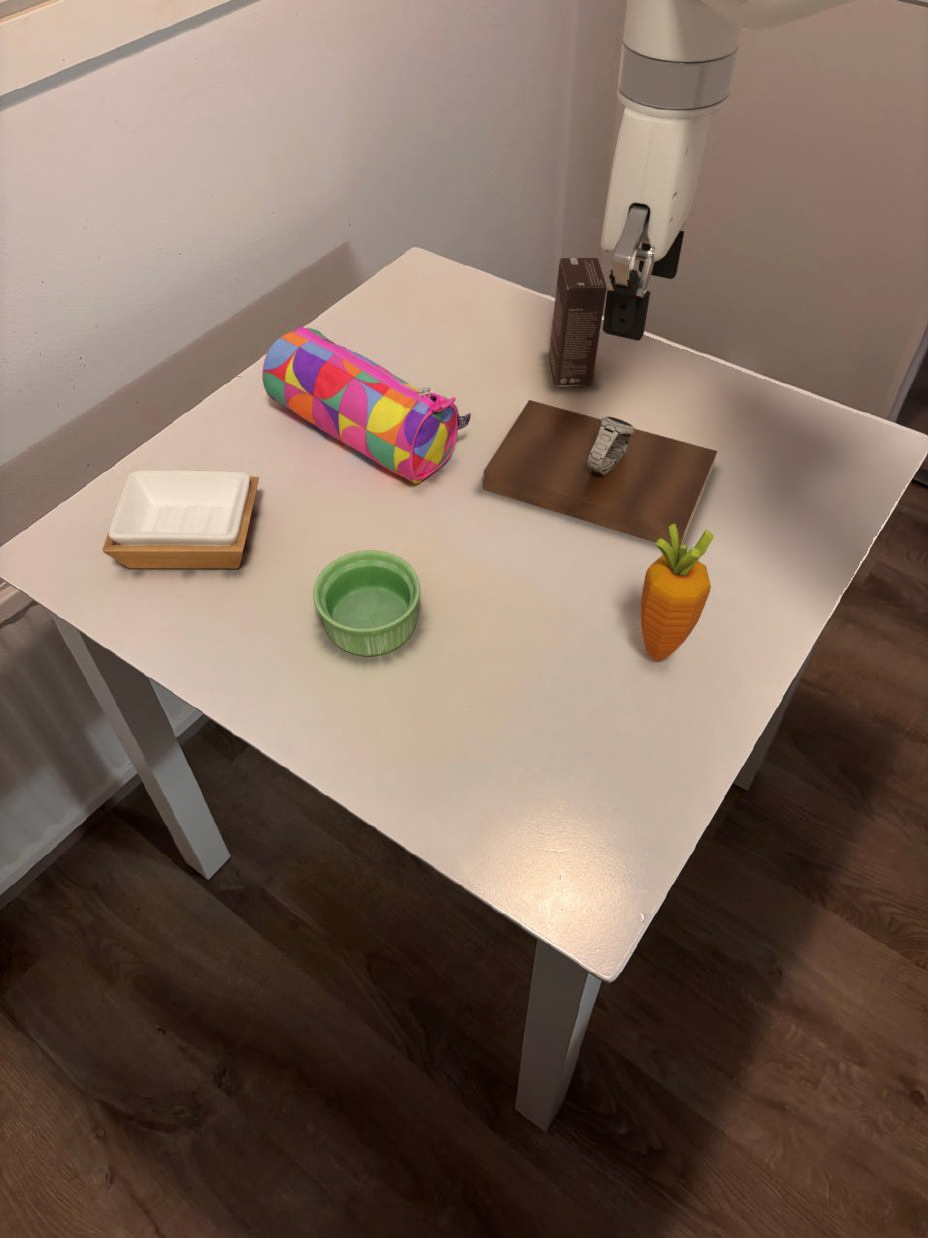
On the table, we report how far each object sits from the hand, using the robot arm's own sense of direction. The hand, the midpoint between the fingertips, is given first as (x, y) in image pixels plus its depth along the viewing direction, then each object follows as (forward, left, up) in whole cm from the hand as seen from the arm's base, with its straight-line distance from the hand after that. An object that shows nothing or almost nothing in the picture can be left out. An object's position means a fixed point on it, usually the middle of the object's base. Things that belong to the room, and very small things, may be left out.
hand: (640, 303), depth 73 cm
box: (+10, -16, -20) cm, 28 cm away
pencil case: (+26, +3, -20) cm, 33 cm away
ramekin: (+14, +25, -20) cm, 35 cm away
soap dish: (+34, +23, -20) cm, 46 cm away
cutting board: (+1, 0, -20) cm, 20 cm away
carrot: (-10, +19, -20) cm, 29 cm away
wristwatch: (+1, 0, -18) cm, 18 cm away
